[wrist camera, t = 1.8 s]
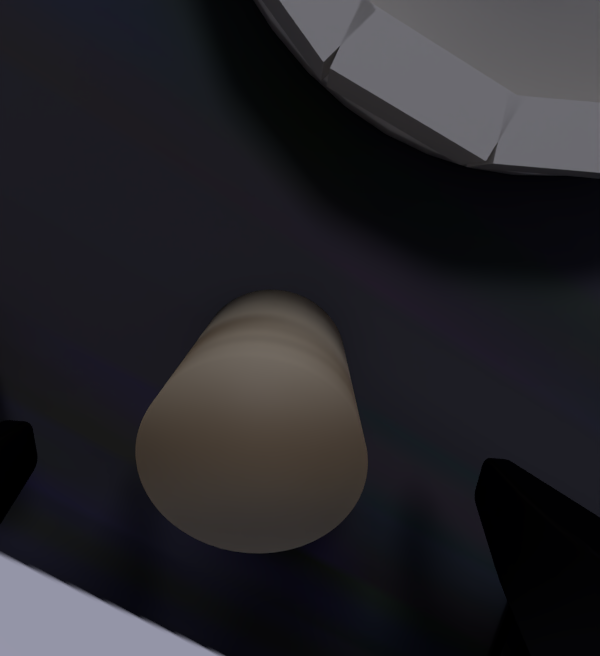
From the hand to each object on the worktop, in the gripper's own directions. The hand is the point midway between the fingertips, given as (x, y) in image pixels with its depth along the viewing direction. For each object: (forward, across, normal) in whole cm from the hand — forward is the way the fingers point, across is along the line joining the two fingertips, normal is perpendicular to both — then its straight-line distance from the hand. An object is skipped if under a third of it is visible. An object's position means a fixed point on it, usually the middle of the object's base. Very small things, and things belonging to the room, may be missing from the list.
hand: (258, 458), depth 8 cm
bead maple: (+5, 0, 0) cm, 5 cm away
